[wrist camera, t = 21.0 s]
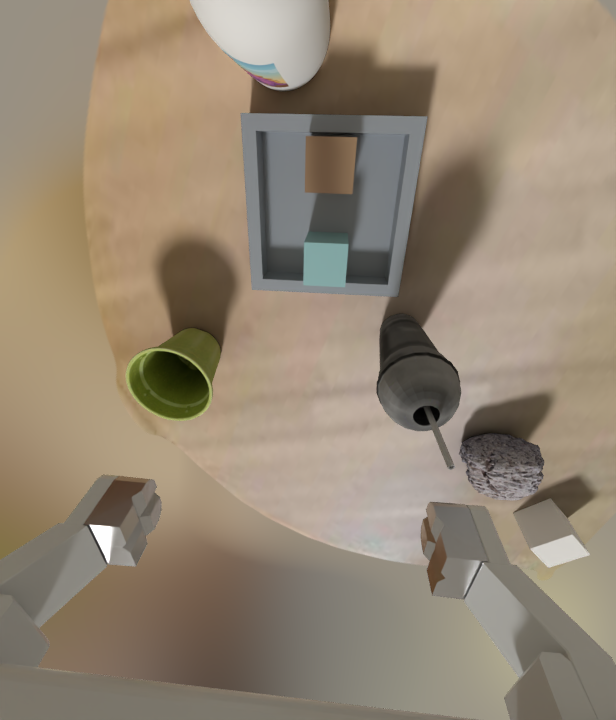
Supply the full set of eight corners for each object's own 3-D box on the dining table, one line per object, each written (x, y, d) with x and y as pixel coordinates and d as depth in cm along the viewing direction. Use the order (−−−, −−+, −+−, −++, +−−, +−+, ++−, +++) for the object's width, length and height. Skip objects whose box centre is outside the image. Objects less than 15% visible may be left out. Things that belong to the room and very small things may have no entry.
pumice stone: (441, 447, 53) (499, 484, 52) (439, 482, 46) (507, 525, 45) (487, 400, 48) (553, 440, 47) (493, 433, 41) (570, 480, 40)
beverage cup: (402, 289, 38) (450, 399, 21) (444, 330, 41) (519, 459, 23) (355, 332, 42) (364, 457, 25) (396, 368, 44) (432, 507, 27)
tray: (419, 119, 31) (427, 116, 28) (394, 286, 38) (398, 296, 36) (249, 116, 31) (240, 112, 29) (258, 280, 39) (251, 289, 37)
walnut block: (355, 139, 31) (357, 137, 27) (351, 188, 33) (352, 194, 29) (310, 138, 31) (305, 135, 27) (309, 187, 33) (304, 192, 29)
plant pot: (146, 333, 44) (106, 369, 37) (204, 302, 41) (174, 335, 34) (191, 387, 48) (163, 430, 41) (247, 363, 45) (229, 404, 38)
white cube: (550, 497, 53) (572, 534, 48) (567, 517, 55) (590, 554, 50) (512, 512, 56) (529, 549, 51) (530, 531, 58) (548, 568, 53)
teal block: (347, 232, 35) (348, 244, 31) (344, 271, 37) (345, 287, 33) (308, 231, 36) (304, 242, 31) (307, 270, 38) (303, 285, 33)
